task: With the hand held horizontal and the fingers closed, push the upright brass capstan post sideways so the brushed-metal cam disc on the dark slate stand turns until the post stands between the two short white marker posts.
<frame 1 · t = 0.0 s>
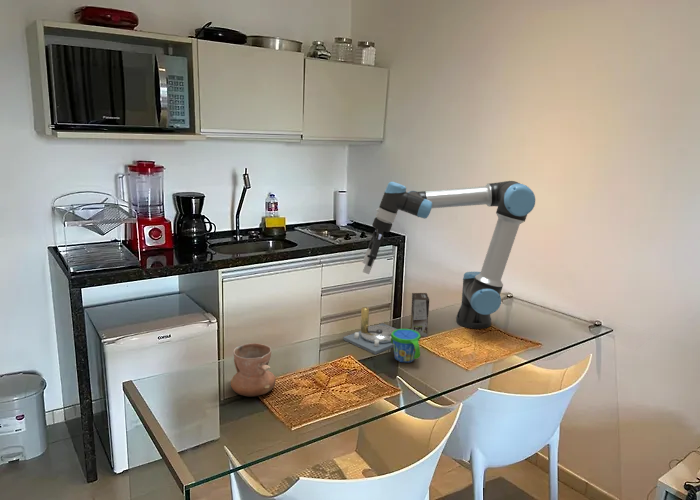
hand: (365, 268, 217), 28 cm above the table, tool tilted 20°, fingers open, 13 cm apart
stand: (379, 339, 216), on the table
cam: (379, 322, 215), point 7 cm above the table, hinge at 0.0°
snack cup: (404, 359, 199), on the table
ceramic jug: (252, 389, 175), on the table
coffee box: (418, 332, 224), on the table
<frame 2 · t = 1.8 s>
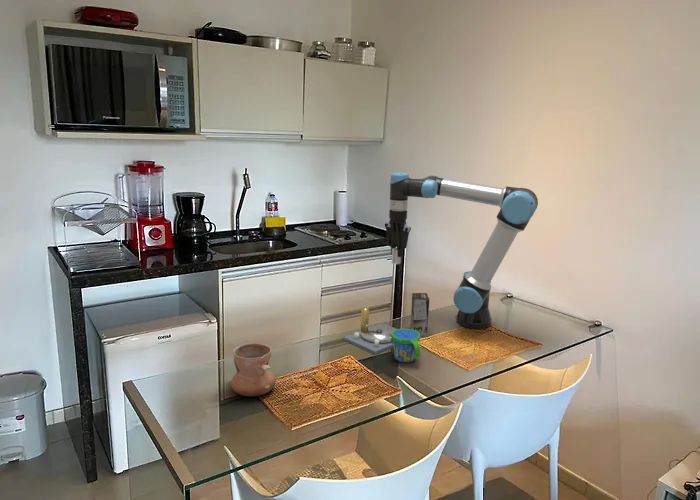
hand: (396, 263, 230), 26 cm above the table, tool pointing down, fingers closed
nothing on the table moved.
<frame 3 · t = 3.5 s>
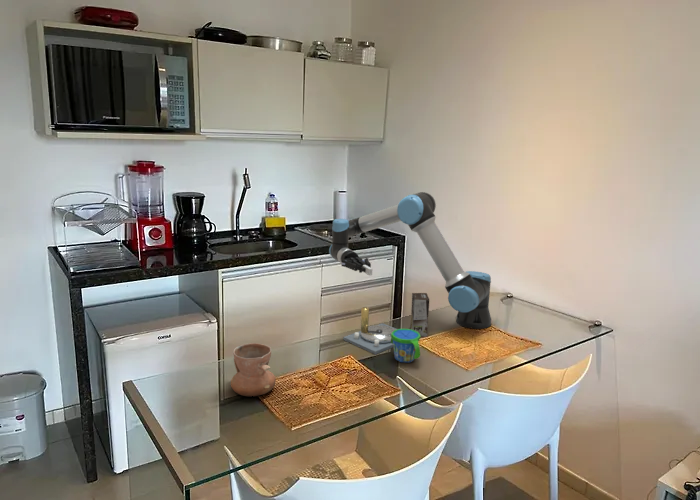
hand: (370, 272, 218), 26 cm above the table, tool horizontal, fingers closed
nothing on the table moved.
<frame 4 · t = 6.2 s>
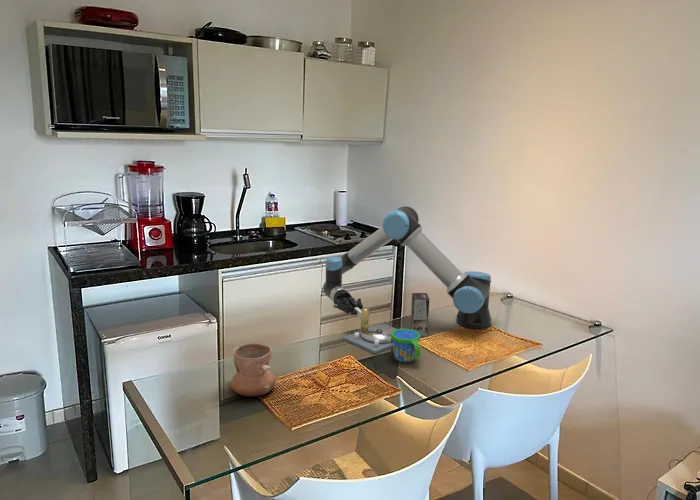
hand: (362, 315, 215), 9 cm above the table, tool horizontal, fingers closed
cam: (379, 322, 215), point 7 cm above the table, hinge at 5.7°, touching gripper
everything else where it was.
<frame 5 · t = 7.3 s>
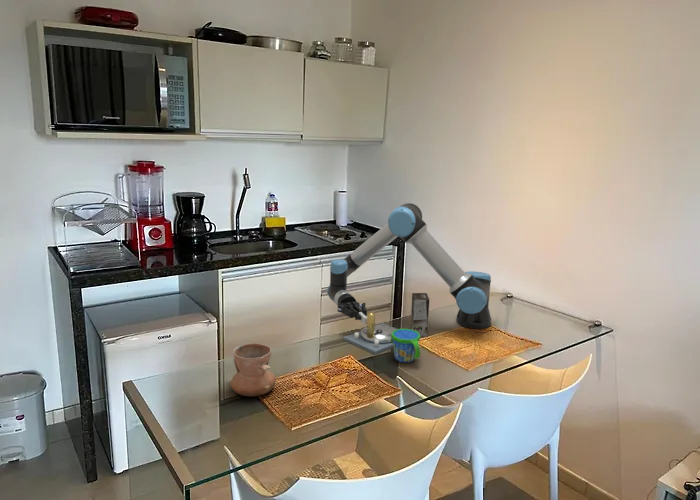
hand: (365, 321, 210), 9 cm above the table, tool horizontal, fingers closed
cam: (379, 322, 215), point 7 cm above the table, hinge at 58.7°, touching gripper
everything else where it was.
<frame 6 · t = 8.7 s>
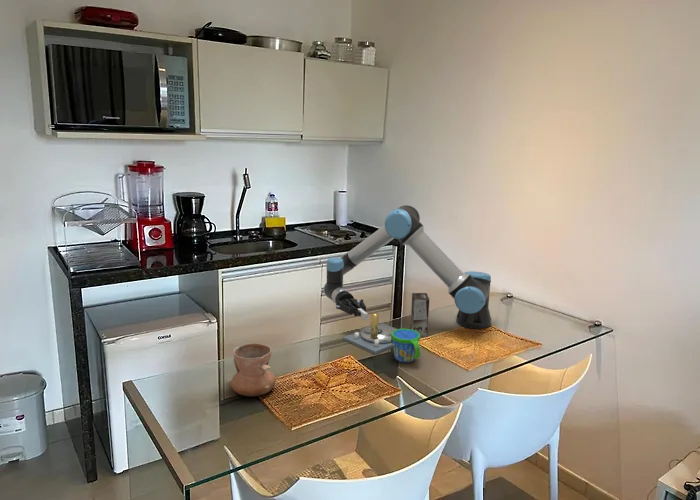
hand: (366, 316, 213), 10 cm above the table, tool horizontal, fingers closed
cam: (379, 322, 215), point 7 cm above the table, hinge at 74.0°
everything else where it was.
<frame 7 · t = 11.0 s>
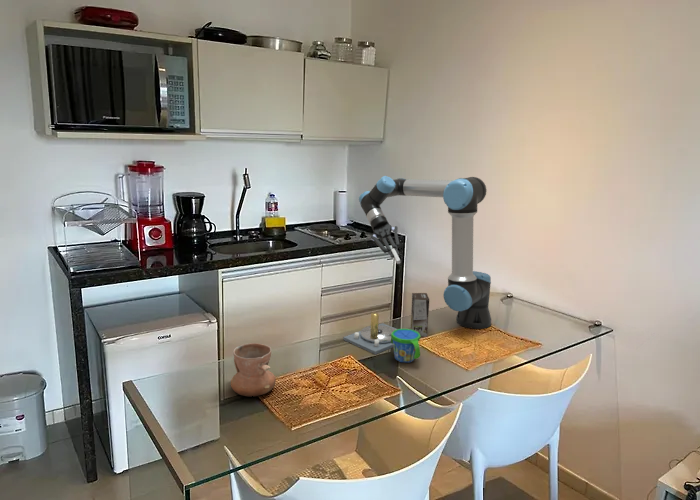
hand: (398, 262, 225), 28 cm above the table, tool tilted 50°, fingers closed
nothing on the table moved.
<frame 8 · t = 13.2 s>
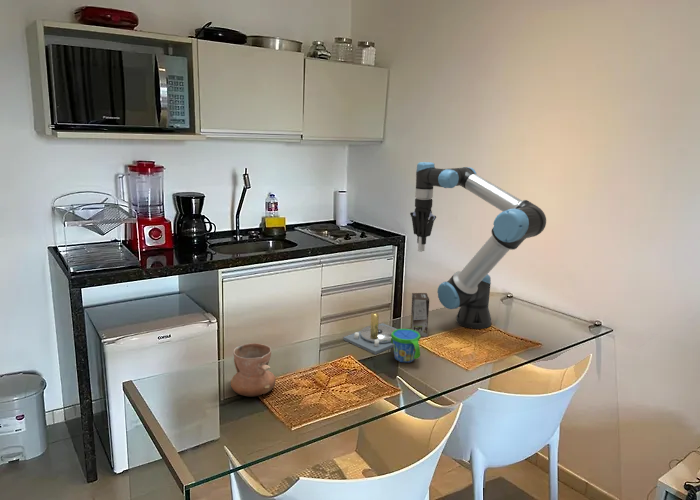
hand: (421, 250, 236), 30 cm above the table, tool pointing down, fingers closed
nothing on the table moved.
at the end: cam at +74° (first picture: +0°) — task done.
